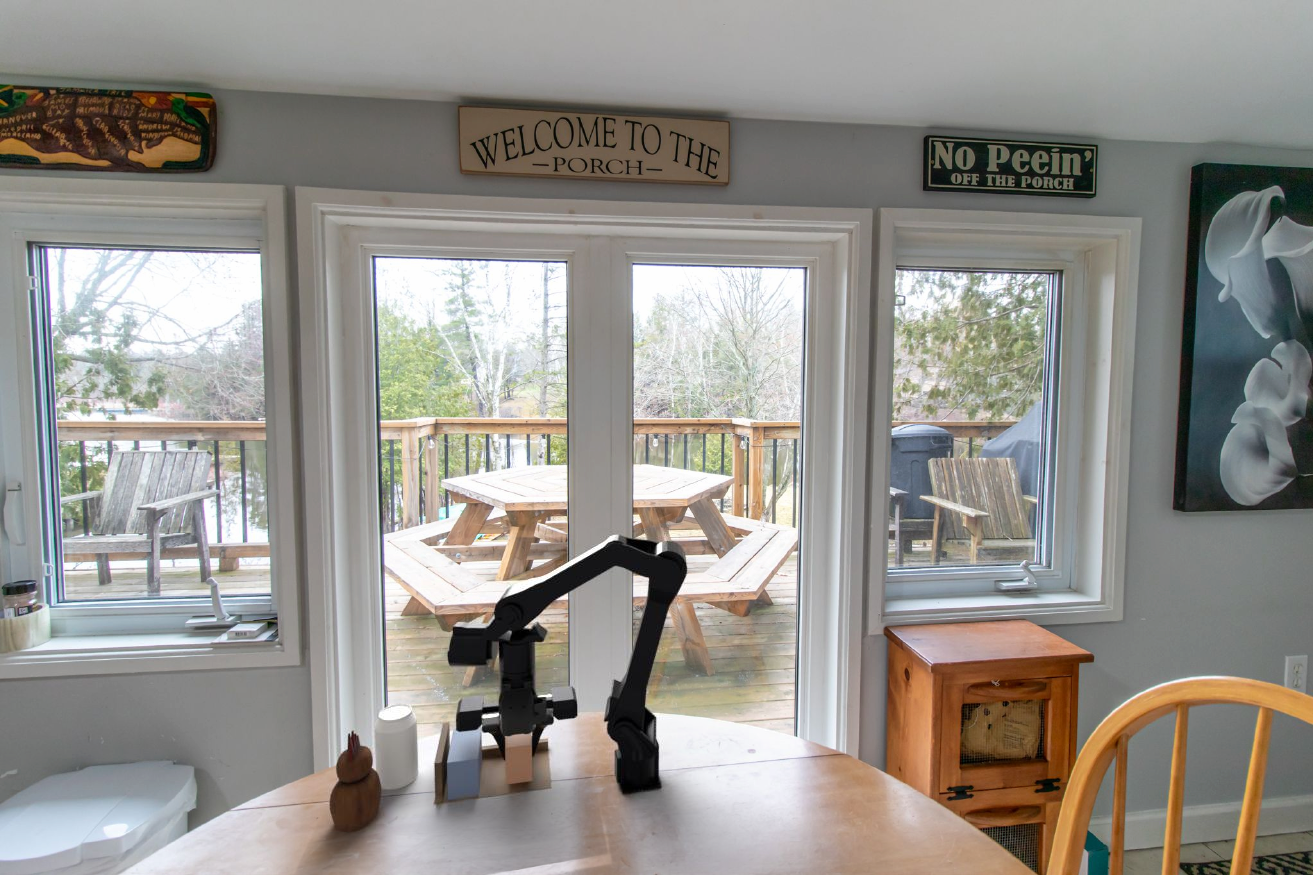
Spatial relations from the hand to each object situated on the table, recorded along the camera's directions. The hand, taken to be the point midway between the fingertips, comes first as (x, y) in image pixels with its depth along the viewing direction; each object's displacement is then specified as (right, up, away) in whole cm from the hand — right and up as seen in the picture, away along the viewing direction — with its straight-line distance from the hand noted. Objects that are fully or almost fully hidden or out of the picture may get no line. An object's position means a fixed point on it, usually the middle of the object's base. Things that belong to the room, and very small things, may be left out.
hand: (518, 757), depth 98 cm
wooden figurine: (-21, -5, -10) cm, 24 cm away
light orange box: (0, -1, 0) cm, 1 cm away
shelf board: (-4, -4, 0) cm, 5 cm away
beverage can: (-19, -4, -1) cm, 20 cm away
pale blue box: (-8, -3, -2) cm, 9 cm away
